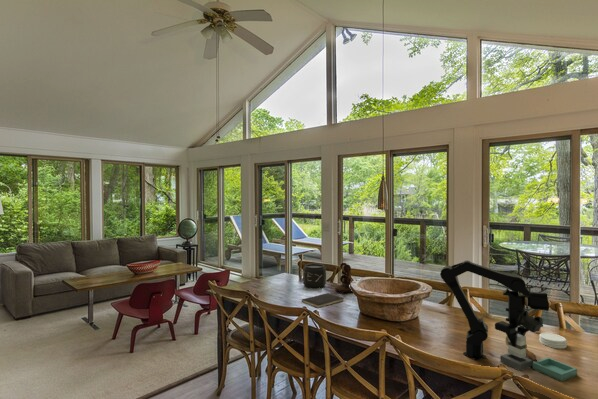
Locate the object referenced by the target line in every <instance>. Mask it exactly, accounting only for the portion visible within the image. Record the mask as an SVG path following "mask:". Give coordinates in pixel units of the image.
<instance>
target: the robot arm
mask: <svg viewBox="0 0 598 399" xmlns="http://www.w3.org/2000/svg"><path fill="white" fill-rule="evenodd" d="M440 270H441V271H440V272H439V274H440V278H441V279H442V280H443V283H444V284H445V285H446V286H447V287H448V288H449V289H450V290H451V292H452V293H453V295H454V297H455V299H456V301H457V303H458V305H459V306H460V309H461V310H462V312H463V314H464V317H465V318H466V320H467V323H468V326H469V330H468V331H467V332H466V341H465V351H462V354H463V355H465V356H466V357H469V358H471V359H473V360H475V361H478V360H481V359H485V358H487V355H485V354H484V341H486V340H487V339H488V335H489V334H488V331H489V327H488V325H487V324H486V322H485V319H484V318H483V317H481V318H480V317H479V316H478V315H477V314H476V312H475V310H474V308H473V306H472V304H471V302H470V301H469V299H468V298H467V295H466V294H465V292H464V290H463V288H462V286H461V285H460V281H459V278H458V277H459V276H460V275H463V274H464V273H466V272H470V273H472V274H475V275H477V276H480V277H483V278H486V279H489V280H492V281H494V282H496V283H497V282H498V283H499V284H501V285H503V287H506V289H505V290H503V291H502V295H503V296H507V302H508V303H507V307H506V308H505V312H507V316H508V317H506V318H505V321H504V320H503V321H497V322H495V323H494V330H496V331H499V332H501V333H505V335H506V336H508V338H509V340H510V342H511V344H512V346H514V347H516V341H517V335H518V334H520V335H523V336H526V334H527V333H528V332H530V333H537V332H540V329H541V328H542V327H544V322H543V320H544V319H543V318H542V317H541V316H535V317H534V316H530V315H529V311H528V310H527V309H526V306H527V307H529V309H530V310H536V311H543V312H545V311H546V312H549V310H550V303H549V299H548V293H547V292H538V291H530V289H529V288H528V287H527V286H526V282H525V279H523V277H522V276H521V275H519V274H514V273H510V272H501V271H497V270H495V269H492V268H489V267H486V266H483V265H480V264H479V263H475V262H472V261H470V260H463V261H462V262H459V263H457V264H453V265H445V266H443V267H442V269H440Z"/></svg>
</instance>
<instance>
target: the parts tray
mask: <svg viewBox="0 0 598 399" xmlns="http://www.w3.org/2000/svg"><path fill="white" fill-rule="evenodd" d="M532 370H535V371H537V372H539V373H541V374H543V375H546V376H549V377H550V378H553V379H555V380H558V381H560V382H564V381H567V380H569V379H572V378H575V377H577V376H578V368H576V367H574V366H572V365H569V364H566V363H564V362H561V361H558V360H557V359H556V360H555V359H553V358H551V357H545V358H542V359H539V360H538V359H537V362H534V361H533V367H532Z"/></svg>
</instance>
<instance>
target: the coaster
mask: <svg viewBox="0 0 598 399" xmlns="http://www.w3.org/2000/svg"><path fill="white" fill-rule="evenodd" d="M539 343H541V345H544V346H547V347H550V348H553V349H559V350H560V349H561V350H562V349H566V348H567V346H568V345H567V344H568V340H567V339H566V337H564V336H562V335H559V334H556V333H551V332H541V333H539Z"/></svg>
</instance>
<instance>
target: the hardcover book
mask: <svg viewBox="0 0 598 399" xmlns="http://www.w3.org/2000/svg"><path fill="white" fill-rule="evenodd" d="M344 299H345V298H344V297H343V296H339V295H336V294H332V293H329V292H327V293H323V294H318V295H314V296H309V297H307V298H302V299H301V302H302V303H304V304H307V305H309V306H312V307H316V308H323V307H325V306H329V305H333V304H337V303H340V302H344Z"/></svg>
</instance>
